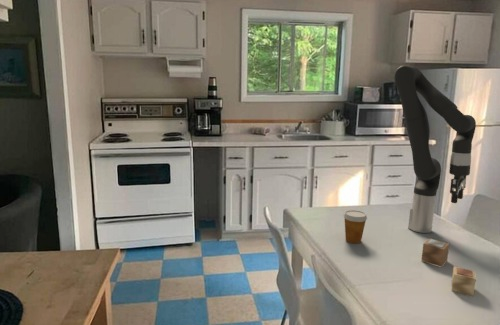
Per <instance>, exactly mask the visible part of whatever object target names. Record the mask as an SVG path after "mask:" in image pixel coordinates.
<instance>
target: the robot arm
mask: <svg viewBox="0 0 500 325" xmlns="http://www.w3.org/2000/svg"><path fill="white" fill-rule="evenodd" d="M394 83H395V86H396V89H397V92H398V95H399V99H400V102H401V107H402V113H403V117H404V122H405V126H406V131H407V136H408V140H409V144H410V149H411V154H412V164H413V171H414V174H415V176H416V177H417V181H416V184H415V185H414V188H413V196H412V206H411V208H410V209H409V218H408V225H407V226H408V227H407V229H409V230H411V231H413V232H416V233H420V234H430V233H432V230H433V223H434V215H435V207H436V199H437V198H436V197H437V193H438V189H439V185H440V178H441V175H442V174H441V173H442V166H441V163H440V162H439V161H438V160H437V159H436V158H433V157H432V155H431V151H430V145H429V144H430V130H431V129H430V121H429V117H428V114H427V111H426V109H425V107H424V106H423V103H422V102H421V100H420V98H419V96H418V94H420V95H421V97H422V98H423V99H424V100H425V101H426V103H427V104H428V106H429V107H430V108H431V109H432V111H434V112H436V113H437V114H438V115H439V116H440V117H442V118H443V119H444V121H445V122H446V123H447V124H448V125H449V126H448V127H450V128H451V129H453V131H455V132H456V134H455V138H454V139H453V140H452V145H451V155H450V159H449V172H448V173H449V174H450V175H453V178H450V187H449V193H450V194H451V195H450V196H451V197H450V203H453V204H458V199H459V200H462V199H463V198H464V196H463V195H464V190H465V188H466V186H467V185H466V184H467V176H470V174H471V164H472V148H473V147H472V146H473V139H474V136H475V133H476V127H477V126H476V125H477V122H476V119H475V118H474V116H472V115H470V114H464V113H463V112H461V110H459V109H458V106H457V105H456V104H455V103H454V102H453V101H452V100H451V99H449V98H448V97H447V96H446V95H445V94H443V93H442V92H441V91H440V90H439V89H437V88H436V87H435V85H433V84H432V83H431V82H430V81H429V79H428V78H427V77H426V76H425V75H424V74H423V73H422V72H421V70H420V69H419V68H418V67H416V66H415V65H413V66H412V65H400V66H399V67H398V68H397V69H396V70H395V72H394Z"/></svg>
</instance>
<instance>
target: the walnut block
mask: <svg viewBox="0 0 500 325" xmlns="http://www.w3.org/2000/svg"><path fill="white" fill-rule="evenodd" d="M422 244H423V246H422V253H421V262H422V263H423V262H424V263H427V264H429V265H432V266H436V267H439V268H442V267H444V265H445V264H446V263H447V261H448V256H449V251H450V250H449V249H450V243H448V242H444V241H441V240H437V239H433V238H428V239H427V240H426V241H425V242H423V243H422Z"/></svg>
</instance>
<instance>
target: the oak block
mask: <svg viewBox="0 0 500 325" xmlns="http://www.w3.org/2000/svg"><path fill="white" fill-rule="evenodd" d="M451 276H452V278H451V291H452V292H454V293H459V294H462V295H467V296H471V297H474V293H475V287H476V281H477V276H476V270H472V269H467V268H462V267H458V266H453V269H452V275H451Z"/></svg>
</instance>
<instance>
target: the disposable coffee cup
mask: <svg viewBox="0 0 500 325" xmlns="http://www.w3.org/2000/svg"><path fill="white" fill-rule="evenodd" d="M343 218H344V232H345V241H346V242H348V243H352V244H360V243H361V242H362V239H363V235H364V230H365V226H366V221H367V220H368V216H367V213H366V212H364V211H362V210H357V209H356V210H355V209H349V210H348V209H347V210H346V211H345V212H344V214H343Z"/></svg>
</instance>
